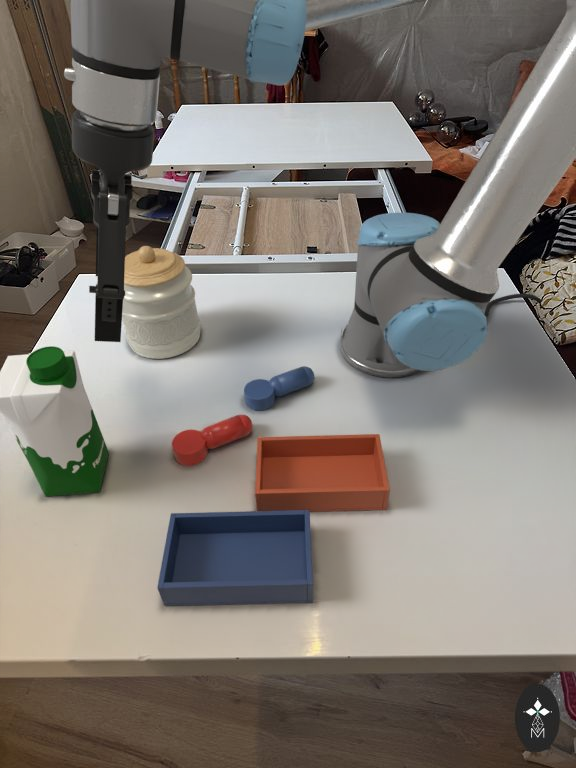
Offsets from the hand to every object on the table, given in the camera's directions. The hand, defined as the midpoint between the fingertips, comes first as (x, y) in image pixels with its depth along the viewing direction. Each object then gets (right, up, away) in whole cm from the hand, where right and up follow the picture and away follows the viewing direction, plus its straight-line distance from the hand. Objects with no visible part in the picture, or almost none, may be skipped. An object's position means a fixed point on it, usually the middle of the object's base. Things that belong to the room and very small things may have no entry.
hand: (107, 305), depth 63 cm
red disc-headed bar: (+11, -18, +12) cm, 24 cm away
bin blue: (+16, -30, -2) cm, 34 cm away
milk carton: (-7, -22, +9) cm, 24 cm away
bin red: (+26, -22, +6) cm, 35 cm away
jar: (0, -1, +31) cm, 31 cm away
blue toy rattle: (+20, -11, +20) cm, 30 cm away
